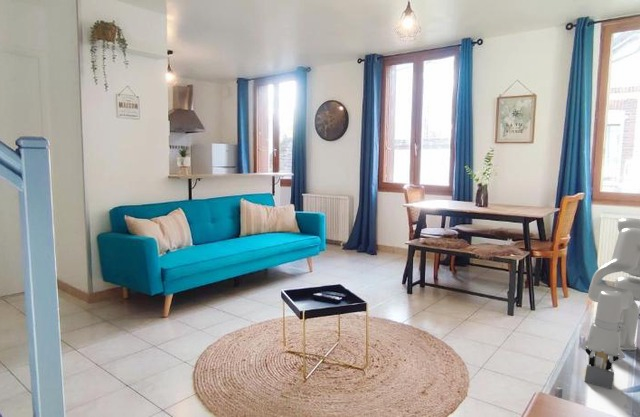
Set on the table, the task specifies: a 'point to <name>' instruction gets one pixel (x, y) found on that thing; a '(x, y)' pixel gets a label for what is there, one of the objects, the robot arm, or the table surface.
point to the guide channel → (598, 375)
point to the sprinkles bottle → (600, 360)
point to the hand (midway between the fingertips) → (599, 368)
